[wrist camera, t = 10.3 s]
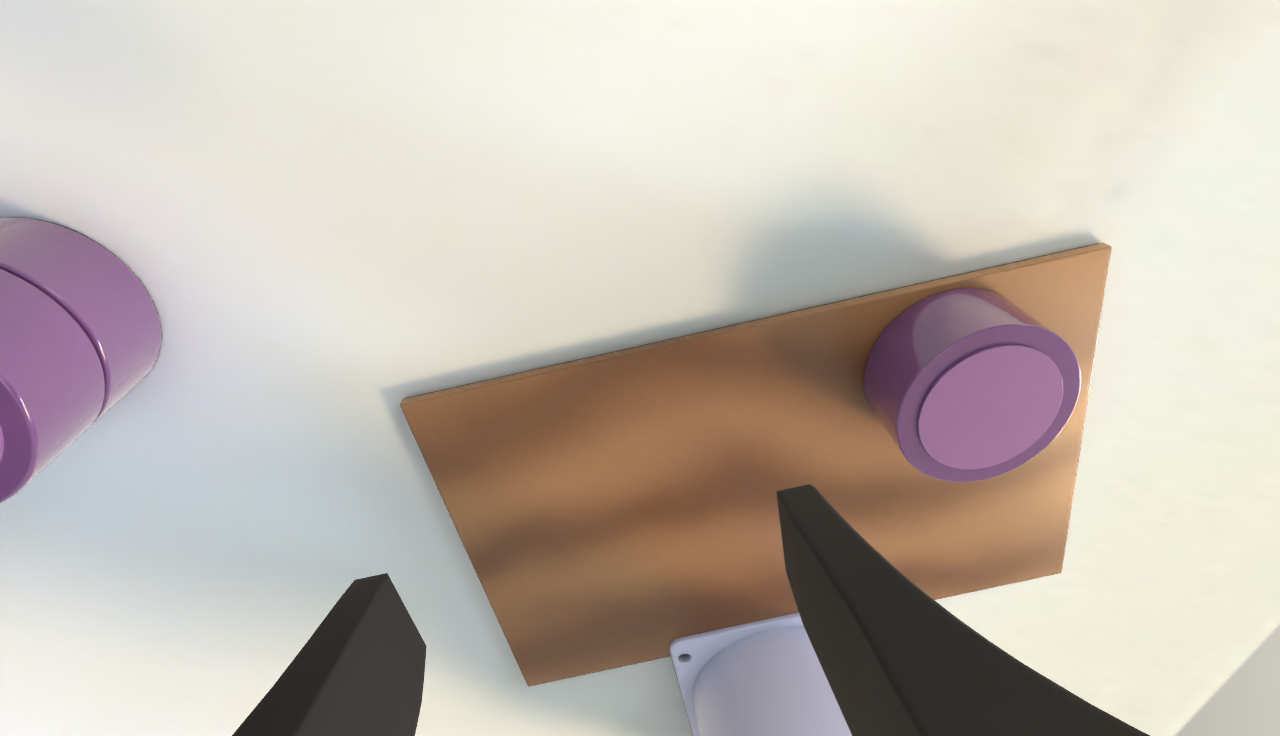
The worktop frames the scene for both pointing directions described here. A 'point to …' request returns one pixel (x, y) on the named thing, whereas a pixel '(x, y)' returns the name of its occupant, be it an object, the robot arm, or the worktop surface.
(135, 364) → the dish bottom
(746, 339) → the mat
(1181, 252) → the worktop surface
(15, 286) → the dish middle
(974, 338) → the dish top
